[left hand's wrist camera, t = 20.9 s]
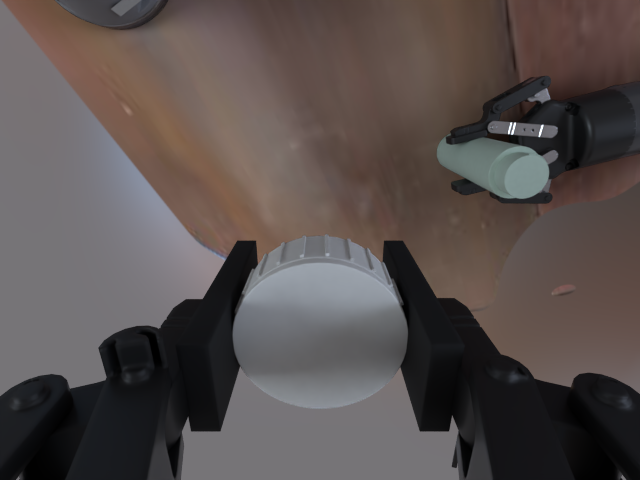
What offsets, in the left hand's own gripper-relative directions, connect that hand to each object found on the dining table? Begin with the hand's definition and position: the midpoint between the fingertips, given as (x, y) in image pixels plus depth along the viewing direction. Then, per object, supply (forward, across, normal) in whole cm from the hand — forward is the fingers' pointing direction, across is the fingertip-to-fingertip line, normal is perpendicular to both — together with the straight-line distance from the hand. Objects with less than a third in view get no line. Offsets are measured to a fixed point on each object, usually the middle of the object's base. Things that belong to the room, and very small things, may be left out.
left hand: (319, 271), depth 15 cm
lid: (-4, 0, 0) cm, 4 cm away
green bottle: (+33, +17, +1) cm, 37 cm away
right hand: (+26, +15, 0) cm, 30 cm away
